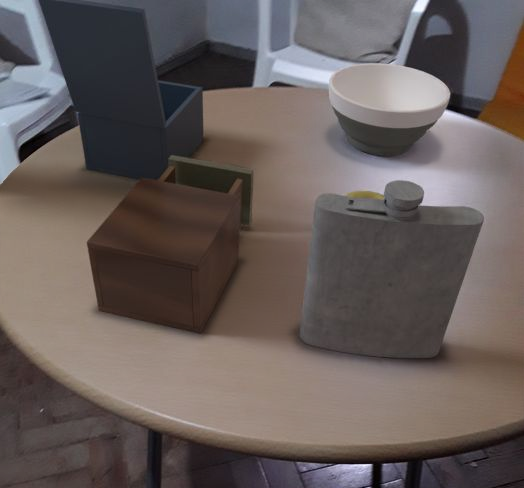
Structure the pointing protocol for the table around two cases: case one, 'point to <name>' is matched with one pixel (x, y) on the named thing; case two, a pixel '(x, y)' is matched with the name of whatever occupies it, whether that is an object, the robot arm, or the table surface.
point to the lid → (106, 59)
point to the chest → (145, 136)
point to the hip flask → (385, 272)
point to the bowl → (386, 105)
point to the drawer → (214, 180)
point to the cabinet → (166, 253)
